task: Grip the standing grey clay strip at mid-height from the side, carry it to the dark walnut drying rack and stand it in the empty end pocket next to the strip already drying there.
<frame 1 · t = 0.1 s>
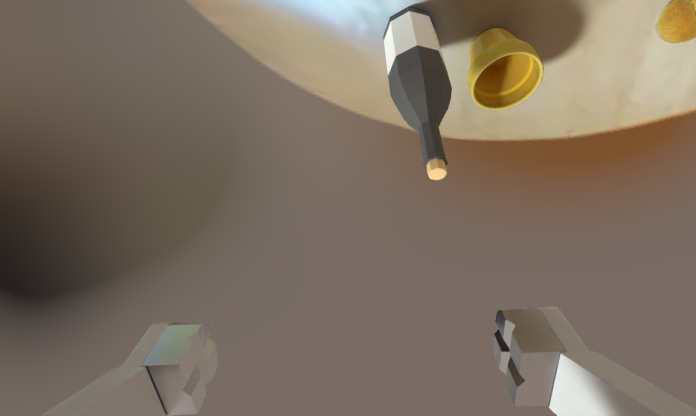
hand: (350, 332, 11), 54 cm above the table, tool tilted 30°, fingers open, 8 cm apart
wine bottle: (408, 31, 60), on the table
plant pot: (490, 46, 62), on the table
bread roll: (689, 7, 58), on the table
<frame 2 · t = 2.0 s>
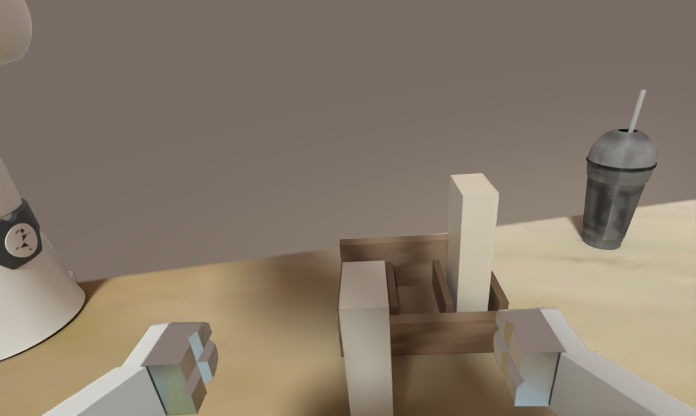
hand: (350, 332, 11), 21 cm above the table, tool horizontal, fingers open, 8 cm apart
drying rack: (416, 318, 41), on the table
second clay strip: (465, 305, 40), point 1 cm above the table, touching drying rack
beverage cup: (600, 242, 52), on the table
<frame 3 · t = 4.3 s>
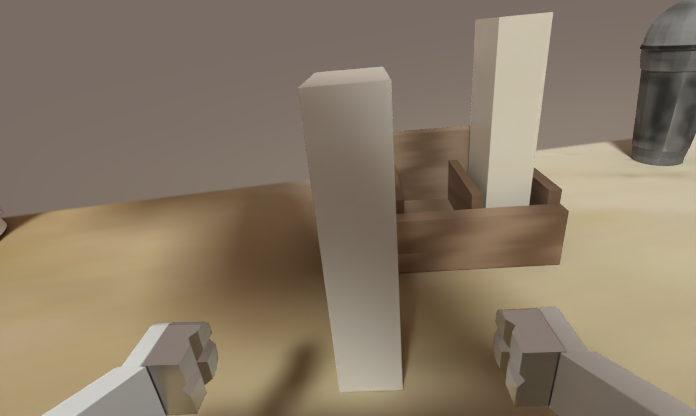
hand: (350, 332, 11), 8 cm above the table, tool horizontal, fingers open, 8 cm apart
drying rack: (428, 235, 31), on the table
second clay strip: (494, 214, 30), point 1 cm above the table, touching drying rack
clay strip: (369, 350, 20), on the table
beverage cup: (655, 160, 42), on the table
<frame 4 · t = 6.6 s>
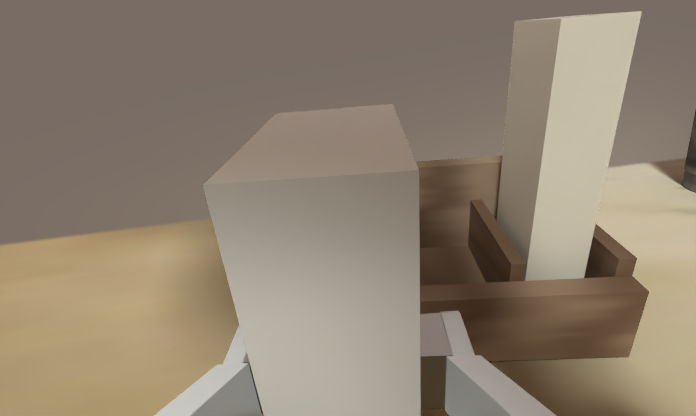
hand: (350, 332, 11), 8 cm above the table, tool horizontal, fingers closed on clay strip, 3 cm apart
drying rack: (445, 299, 24), on the table
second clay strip: (531, 275, 23), point 1 cm above the table, touching drying rack
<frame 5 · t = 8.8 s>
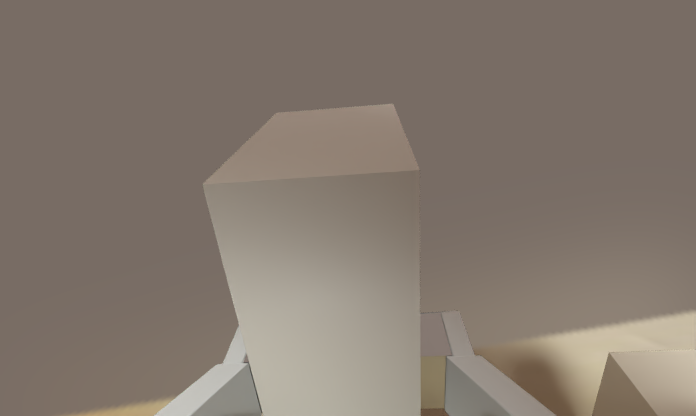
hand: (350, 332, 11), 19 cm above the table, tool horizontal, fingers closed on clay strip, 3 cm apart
when the fingers open (11 cm above the table, at t = 11.0 s): clay strip drops 1 cm, resting on drying rack.
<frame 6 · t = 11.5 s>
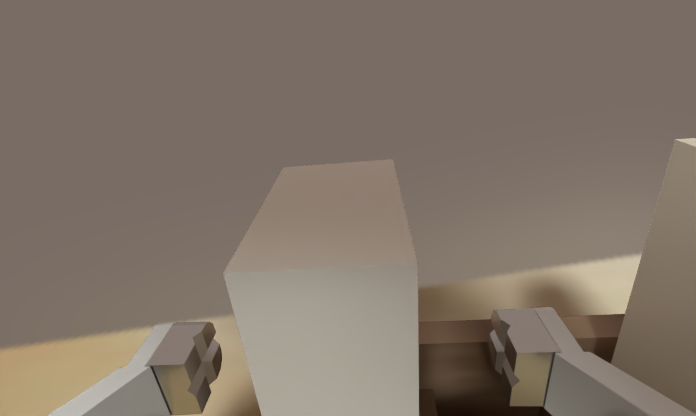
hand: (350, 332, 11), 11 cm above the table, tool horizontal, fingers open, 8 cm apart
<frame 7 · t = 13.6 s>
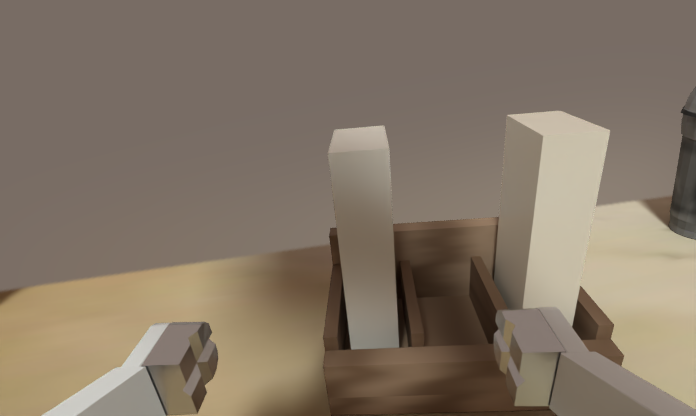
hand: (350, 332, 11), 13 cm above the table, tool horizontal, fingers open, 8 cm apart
drying rack: (449, 347, 27), on the table
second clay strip: (525, 327, 26), point 1 cm above the table, touching drying rack
clay strip: (375, 334, 26), point 1 cm above the table, touching drying rack
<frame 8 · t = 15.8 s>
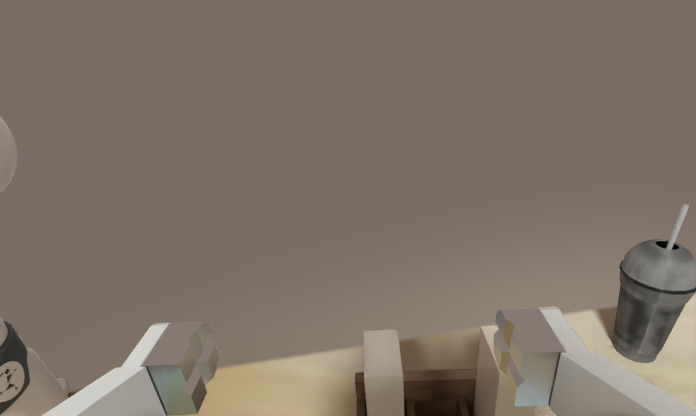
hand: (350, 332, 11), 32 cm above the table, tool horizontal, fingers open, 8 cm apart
beverage cup: (633, 349, 49), on the table
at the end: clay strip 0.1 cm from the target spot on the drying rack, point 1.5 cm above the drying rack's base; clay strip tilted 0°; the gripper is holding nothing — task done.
